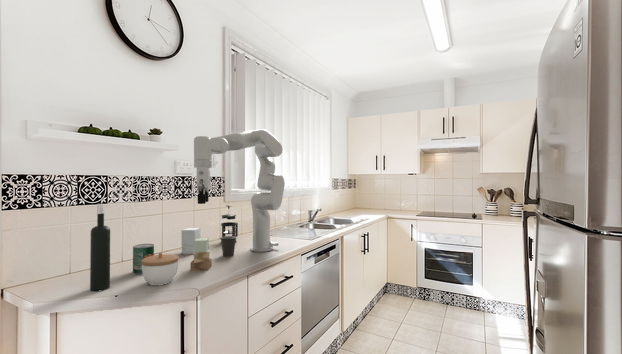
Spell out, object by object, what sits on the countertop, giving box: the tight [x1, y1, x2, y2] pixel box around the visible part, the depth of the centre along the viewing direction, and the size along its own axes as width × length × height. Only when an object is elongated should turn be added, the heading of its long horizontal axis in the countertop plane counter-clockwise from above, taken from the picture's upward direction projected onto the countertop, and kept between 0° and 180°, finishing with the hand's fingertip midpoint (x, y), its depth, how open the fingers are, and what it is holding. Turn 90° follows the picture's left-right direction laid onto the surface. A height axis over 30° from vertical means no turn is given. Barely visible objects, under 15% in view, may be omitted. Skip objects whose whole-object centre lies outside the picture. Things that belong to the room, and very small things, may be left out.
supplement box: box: [180, 227, 202, 255], centre depth 162 cm, size 7×7×13 cm
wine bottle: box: [89, 203, 111, 292], centre depth 108 cm, size 6×6×30 cm
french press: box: [220, 204, 239, 245], centre depth 188 cm, size 12×9×23 cm
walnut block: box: [189, 257, 213, 272], centre depth 132 cm, size 7×7×4 cm
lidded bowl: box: [141, 252, 180, 286], centre depth 114 cm, size 13×13×11 cm
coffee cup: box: [219, 235, 237, 258], centre depth 155 cm, size 8×8×10 cm
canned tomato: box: [132, 243, 155, 275], centre depth 128 cm, size 8×8×11 cm
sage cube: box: [194, 237, 210, 253], centre depth 132 cm, size 5×5×5 cm
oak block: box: [193, 250, 210, 263], centre depth 132 cm, size 6×6×4 cm
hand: (203, 202), depth 135 cm, fingers open, 9 cm apart
